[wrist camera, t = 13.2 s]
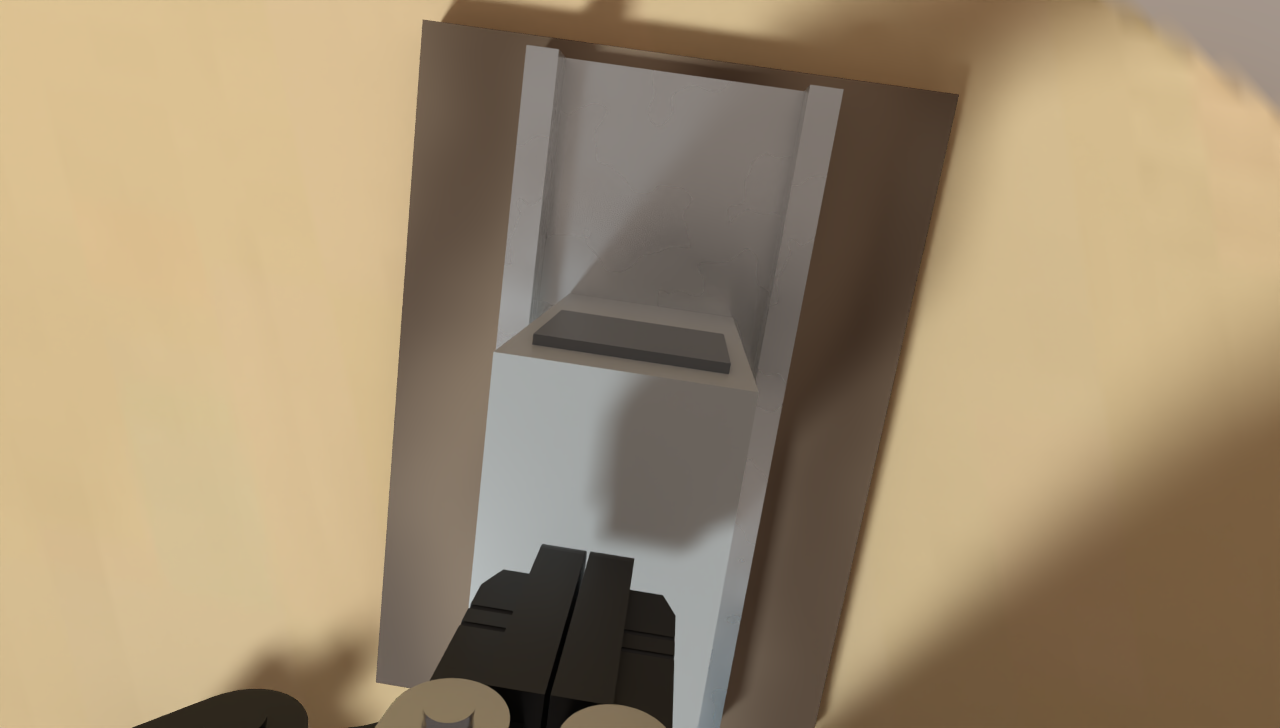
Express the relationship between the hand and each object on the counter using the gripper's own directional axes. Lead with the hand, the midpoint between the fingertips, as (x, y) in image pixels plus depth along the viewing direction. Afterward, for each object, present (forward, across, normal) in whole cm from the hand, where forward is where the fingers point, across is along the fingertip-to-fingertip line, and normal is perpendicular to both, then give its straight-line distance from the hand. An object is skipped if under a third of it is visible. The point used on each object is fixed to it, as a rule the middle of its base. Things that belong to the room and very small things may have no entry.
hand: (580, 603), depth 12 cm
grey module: (+9, 0, 0) cm, 9 cm away
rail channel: (+11, 0, 0) cm, 11 cm away
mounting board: (+11, 0, 0) cm, 11 cm away
